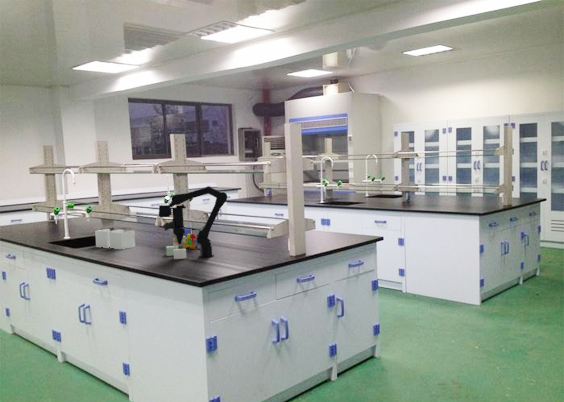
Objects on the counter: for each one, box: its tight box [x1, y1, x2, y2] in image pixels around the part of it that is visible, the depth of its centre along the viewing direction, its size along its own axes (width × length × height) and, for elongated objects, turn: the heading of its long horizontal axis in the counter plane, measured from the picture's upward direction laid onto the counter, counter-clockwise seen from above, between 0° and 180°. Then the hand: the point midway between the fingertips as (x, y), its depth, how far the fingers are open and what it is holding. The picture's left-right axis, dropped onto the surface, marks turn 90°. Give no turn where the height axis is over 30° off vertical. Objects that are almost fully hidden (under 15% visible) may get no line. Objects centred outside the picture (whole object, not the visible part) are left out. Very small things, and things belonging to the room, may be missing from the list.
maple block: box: [172, 235, 187, 247], centre depth 280 cm, size 7×4×5 cm, turn 103°
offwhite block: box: [173, 248, 187, 260], centre depth 281 cm, size 7×4×5 cm, turn 103°
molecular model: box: [182, 233, 199, 250], centre depth 313 cm, size 11×10×15 cm
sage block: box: [165, 245, 180, 257], centre depth 292 cm, size 7×4×5 cm, turn 103°
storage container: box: [94, 228, 136, 250], centre depth 326 cm, size 25×11×11 cm, turn 59°
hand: (179, 243), depth 281 cm, fingers closed on maple block, 4 cm apart
